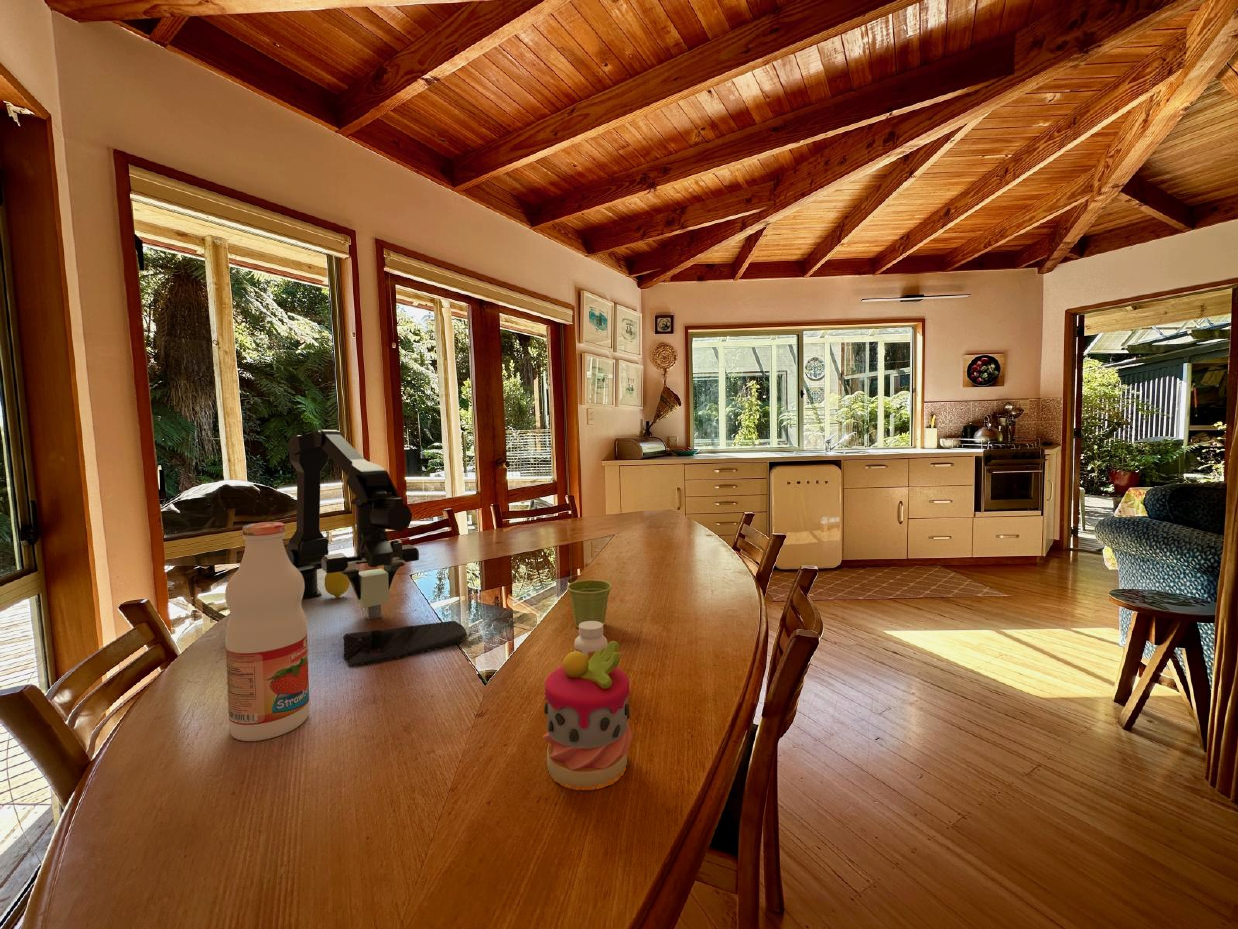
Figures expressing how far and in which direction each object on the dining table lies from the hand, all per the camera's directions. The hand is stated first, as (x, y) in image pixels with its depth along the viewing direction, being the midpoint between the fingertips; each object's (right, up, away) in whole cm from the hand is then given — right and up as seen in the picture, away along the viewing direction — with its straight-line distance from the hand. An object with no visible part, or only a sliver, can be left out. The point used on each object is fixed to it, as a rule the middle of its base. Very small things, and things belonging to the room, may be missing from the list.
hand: (372, 596), depth 117 cm
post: (0, -5, 0) cm, 4 cm away
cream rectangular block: (0, -1, 0) cm, 1 cm away
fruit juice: (+6, -7, -43) cm, 44 cm away
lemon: (-15, -4, +14) cm, 21 cm away
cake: (+50, -8, -52) cm, 72 cm away
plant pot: (+48, -5, -5) cm, 48 cm away
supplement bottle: (+50, -7, -30) cm, 58 cm away
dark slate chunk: (+13, -6, -14) cm, 20 cm away
